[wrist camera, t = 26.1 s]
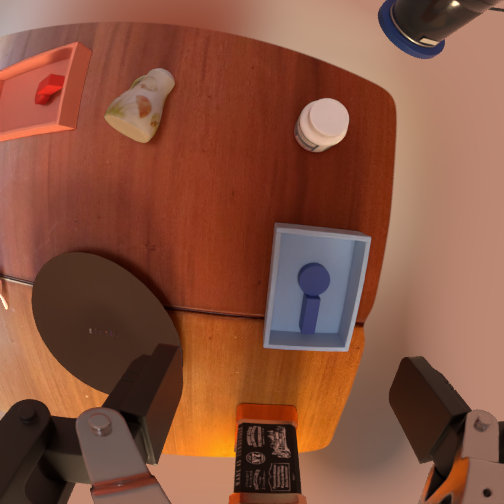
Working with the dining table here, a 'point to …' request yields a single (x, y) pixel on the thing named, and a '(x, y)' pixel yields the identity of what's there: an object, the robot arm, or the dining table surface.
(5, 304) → the cat figurine
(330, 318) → the blue bin
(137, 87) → the white ceramic cup shape
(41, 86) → the red bar with cylinder
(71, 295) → the plate
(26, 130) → the coral bin
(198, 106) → the dining table surface
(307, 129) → the pill bottle
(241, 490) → the whiskey bottle
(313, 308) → the blue spoon
